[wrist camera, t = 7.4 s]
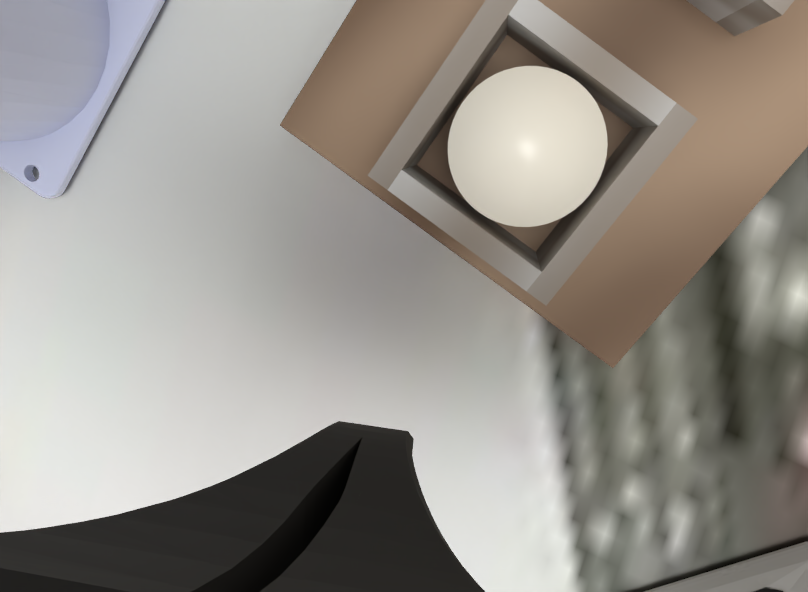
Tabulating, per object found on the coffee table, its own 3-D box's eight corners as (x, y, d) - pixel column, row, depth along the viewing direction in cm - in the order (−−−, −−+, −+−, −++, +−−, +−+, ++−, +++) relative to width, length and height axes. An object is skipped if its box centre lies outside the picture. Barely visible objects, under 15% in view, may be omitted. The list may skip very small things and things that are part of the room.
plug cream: (430, 162, 18) (416, 167, 16) (509, 49, 18) (510, 32, 15) (533, 238, 19) (540, 257, 16) (618, 130, 18) (641, 128, 15)
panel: (290, 126, 20) (240, 122, 16) (614, -396, 16) (649, -563, 12) (607, 357, 20) (632, 408, 17) (1004, -100, 16) (1159, -173, 13)
